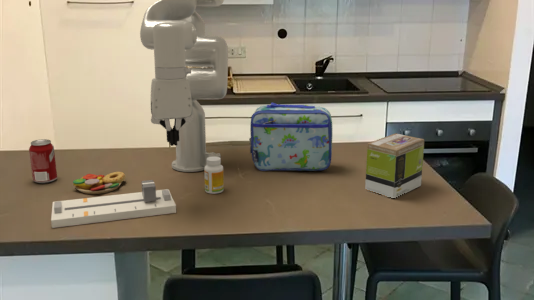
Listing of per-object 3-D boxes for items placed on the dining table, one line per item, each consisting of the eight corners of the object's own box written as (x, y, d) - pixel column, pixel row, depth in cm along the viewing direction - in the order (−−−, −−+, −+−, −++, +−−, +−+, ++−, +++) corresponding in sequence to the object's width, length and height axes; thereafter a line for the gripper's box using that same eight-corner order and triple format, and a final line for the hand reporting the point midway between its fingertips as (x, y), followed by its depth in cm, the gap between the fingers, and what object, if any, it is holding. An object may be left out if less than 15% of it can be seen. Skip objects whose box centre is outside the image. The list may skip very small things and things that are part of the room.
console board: (168, 195, 150) (168, 184, 149) (176, 212, 139) (175, 200, 138) (53, 208, 140) (52, 196, 139) (51, 228, 129) (50, 214, 128)
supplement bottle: (226, 188, 155) (226, 156, 152) (219, 195, 150) (218, 162, 148) (209, 186, 157) (209, 154, 154) (201, 192, 152) (200, 160, 149)
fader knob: (153, 193, 144) (153, 179, 143) (156, 200, 140) (155, 185, 139) (142, 195, 143) (141, 180, 142) (144, 202, 139) (143, 187, 138)
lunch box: (248, 171, 169) (247, 106, 163) (252, 161, 180) (252, 99, 173) (331, 175, 167) (334, 109, 161) (330, 164, 177) (333, 102, 171)
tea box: (392, 178, 165) (396, 131, 161) (421, 186, 158) (426, 138, 154) (363, 190, 155) (366, 141, 151) (393, 200, 148) (397, 149, 144)
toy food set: (130, 181, 161) (129, 171, 160) (110, 197, 149) (110, 186, 148) (89, 178, 163) (88, 168, 162) (66, 194, 151) (65, 183, 150)
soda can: (49, 185, 156) (44, 145, 153) (28, 183, 158) (23, 144, 154) (62, 177, 163) (57, 139, 159) (41, 175, 164) (37, 138, 160)
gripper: (196, 70, 140) (198, 138, 145) (138, 72, 135) (142, 142, 140) (203, 74, 133) (204, 145, 138) (141, 77, 128) (145, 150, 133)
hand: (173, 144), depth 139 cm, fingers closed
